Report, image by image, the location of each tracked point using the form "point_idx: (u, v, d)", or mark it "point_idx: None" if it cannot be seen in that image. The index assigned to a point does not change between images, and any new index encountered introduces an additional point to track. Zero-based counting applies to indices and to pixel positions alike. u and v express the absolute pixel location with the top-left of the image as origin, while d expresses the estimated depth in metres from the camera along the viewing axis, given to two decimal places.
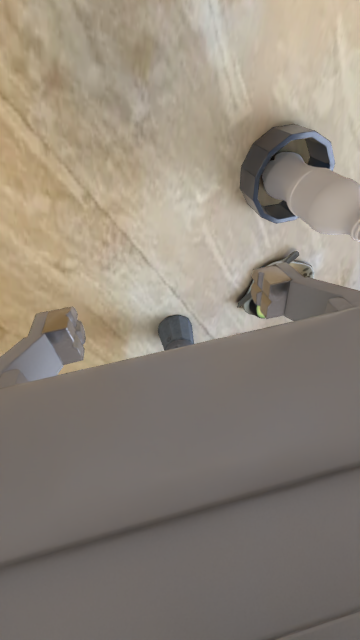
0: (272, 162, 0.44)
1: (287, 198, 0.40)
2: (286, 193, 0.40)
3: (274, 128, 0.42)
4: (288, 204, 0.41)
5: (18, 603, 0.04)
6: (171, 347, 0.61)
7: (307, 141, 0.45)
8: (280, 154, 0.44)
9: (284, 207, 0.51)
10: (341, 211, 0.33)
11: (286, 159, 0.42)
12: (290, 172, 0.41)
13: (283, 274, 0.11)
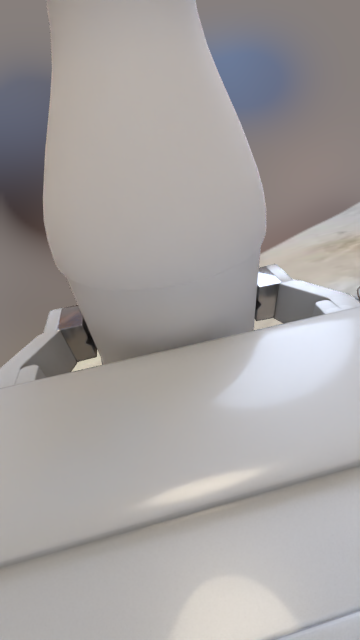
0: None
1: None
2: None
3: None
4: None
5: (19, 602, 0.04)
6: None
7: None
8: None
9: None
10: (84, 89, 0.05)
11: None
12: None
13: (272, 276, 0.11)
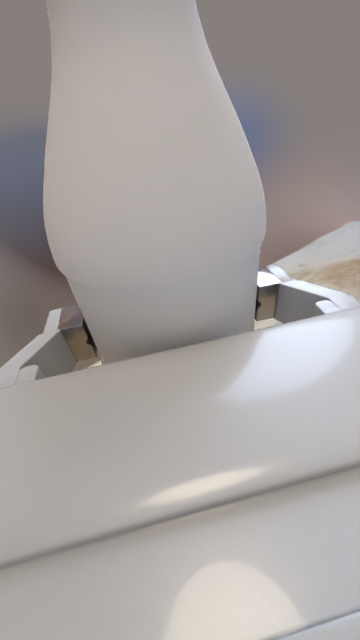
0: None
1: None
2: None
3: None
4: None
5: (18, 603, 0.04)
6: None
7: None
8: None
9: None
10: (85, 89, 0.05)
11: None
12: None
13: (272, 276, 0.11)
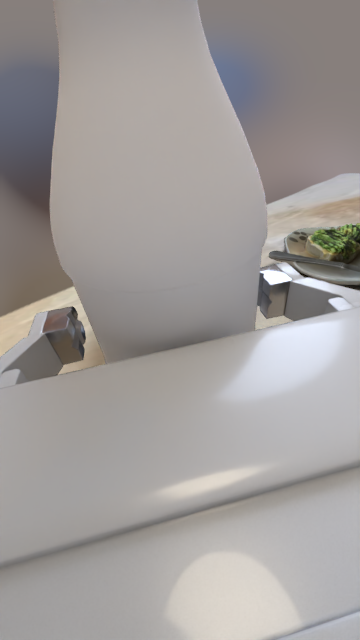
0: None
1: None
2: None
3: None
4: None
5: (18, 603, 0.04)
6: None
7: None
8: None
9: None
10: (93, 98, 0.06)
11: None
12: None
13: (283, 274, 0.11)
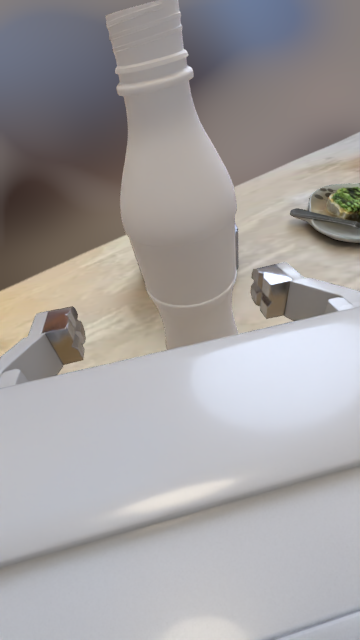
0: None
1: (200, 312, 0.19)
2: (194, 319, 0.19)
3: None
4: (211, 305, 0.18)
5: (19, 602, 0.04)
6: None
7: None
8: None
9: None
10: (143, 159, 0.13)
11: (168, 344, 0.25)
12: (171, 328, 0.22)
13: (283, 274, 0.11)
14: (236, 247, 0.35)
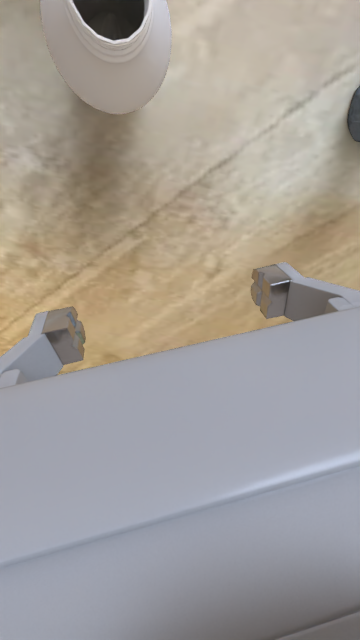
0: None
1: None
2: None
3: None
4: None
5: (18, 602, 0.04)
6: None
7: None
8: None
9: None
10: (96, 74, 0.14)
11: None
12: None
13: (283, 274, 0.11)
14: None
